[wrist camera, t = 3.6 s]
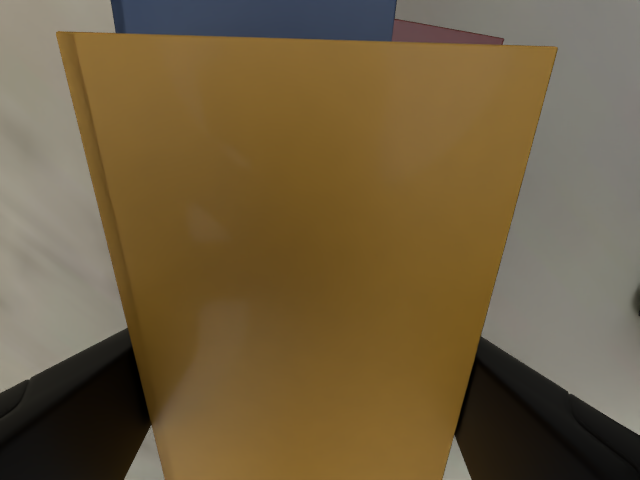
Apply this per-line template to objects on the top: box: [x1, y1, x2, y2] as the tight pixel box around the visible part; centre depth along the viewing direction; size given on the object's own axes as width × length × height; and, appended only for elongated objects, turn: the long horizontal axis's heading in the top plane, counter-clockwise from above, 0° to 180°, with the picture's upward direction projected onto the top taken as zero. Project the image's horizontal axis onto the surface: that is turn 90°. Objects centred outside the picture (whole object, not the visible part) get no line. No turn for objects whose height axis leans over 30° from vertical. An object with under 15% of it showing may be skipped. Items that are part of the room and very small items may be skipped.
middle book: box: [111, 0, 397, 42], centre depth 11 cm, size 15×6×3 cm, turn 176°
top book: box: [56, 31, 558, 480], centre depth 8 cm, size 13×7×3 cm, turn 178°
